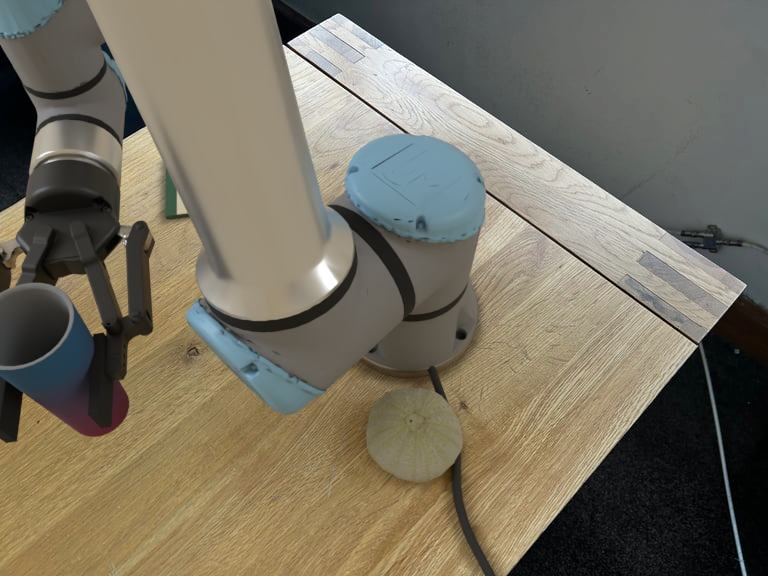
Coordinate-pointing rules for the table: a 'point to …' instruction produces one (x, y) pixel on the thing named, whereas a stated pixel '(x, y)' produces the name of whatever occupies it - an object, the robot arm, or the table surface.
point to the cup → (52, 355)
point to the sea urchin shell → (413, 434)
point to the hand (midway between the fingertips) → (51, 427)
